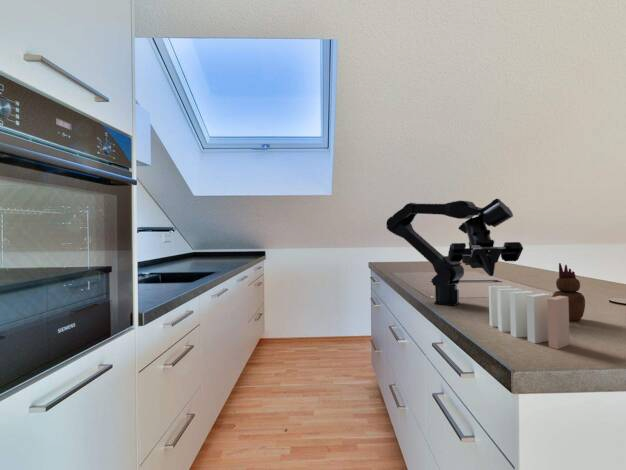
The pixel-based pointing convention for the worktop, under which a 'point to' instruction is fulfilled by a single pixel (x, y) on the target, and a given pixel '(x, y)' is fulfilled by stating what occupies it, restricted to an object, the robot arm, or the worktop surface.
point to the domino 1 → (494, 304)
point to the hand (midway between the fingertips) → (491, 275)
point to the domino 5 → (558, 322)
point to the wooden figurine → (570, 293)
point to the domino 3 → (519, 313)
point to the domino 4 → (537, 317)
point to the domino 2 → (504, 309)
